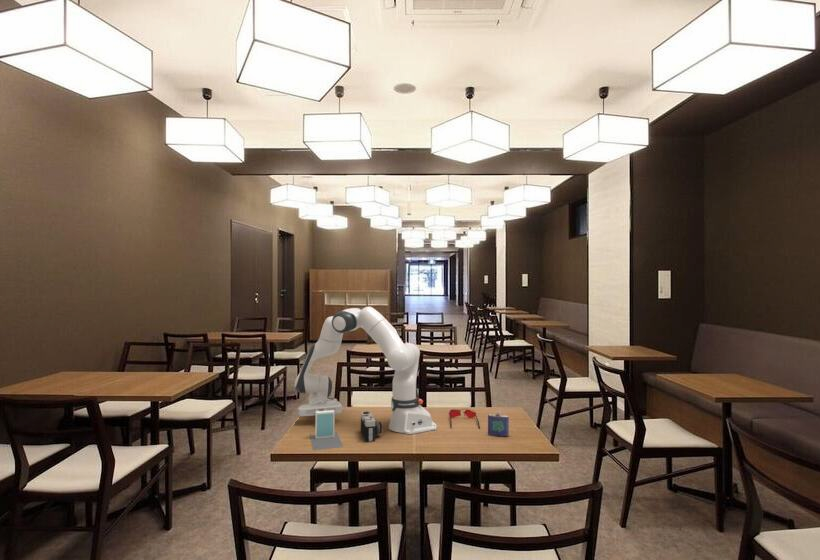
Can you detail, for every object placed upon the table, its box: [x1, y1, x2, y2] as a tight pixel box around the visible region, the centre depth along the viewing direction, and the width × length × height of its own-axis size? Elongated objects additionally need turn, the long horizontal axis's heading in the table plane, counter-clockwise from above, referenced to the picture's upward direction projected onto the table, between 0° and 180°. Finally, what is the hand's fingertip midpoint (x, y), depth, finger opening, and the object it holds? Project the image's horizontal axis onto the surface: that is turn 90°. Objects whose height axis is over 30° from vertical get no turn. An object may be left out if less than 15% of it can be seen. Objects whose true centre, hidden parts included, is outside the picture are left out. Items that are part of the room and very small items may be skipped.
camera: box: [360, 411, 383, 443], centre depth 191 cm, size 14×9×10 cm, turn 8°
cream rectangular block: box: [314, 410, 336, 438], centre depth 190 cm, size 8×3×11 cm, turn 107°
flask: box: [487, 411, 510, 438], centre depth 195 cm, size 9×3×11 cm, turn 77°
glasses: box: [448, 408, 481, 430], centre depth 212 cm, size 14×16×5 cm
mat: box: [309, 432, 344, 451], centre depth 185 cm, size 12×18×1 cm, turn 17°
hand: (322, 414), depth 202 cm, fingers closed
